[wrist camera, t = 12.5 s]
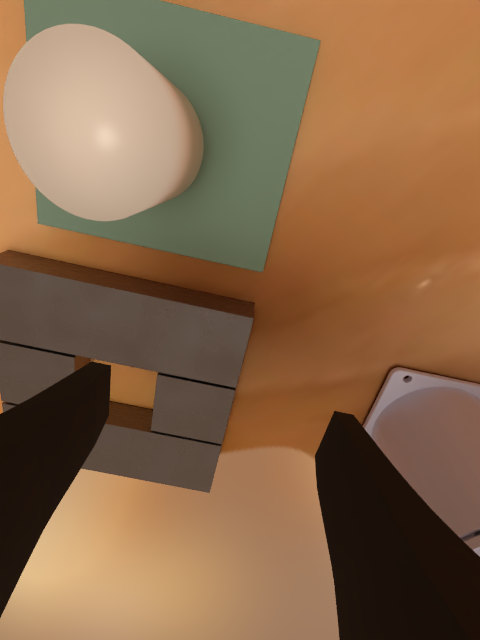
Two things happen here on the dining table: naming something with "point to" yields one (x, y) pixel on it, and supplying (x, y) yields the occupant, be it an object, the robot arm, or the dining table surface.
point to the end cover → (98, 124)
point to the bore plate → (127, 360)
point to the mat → (205, 123)
